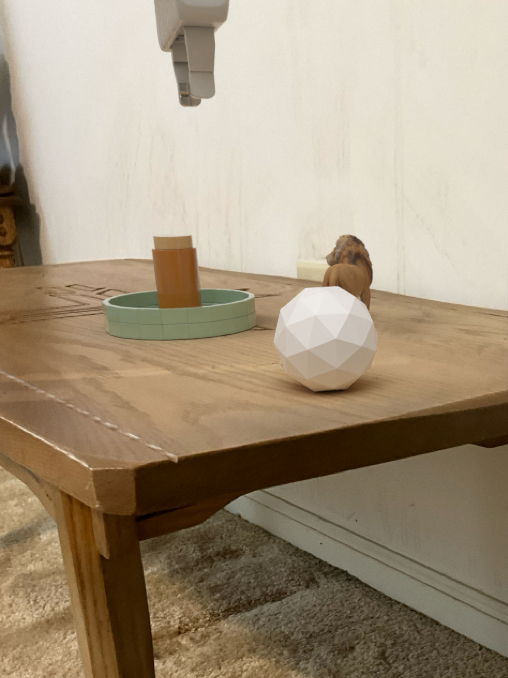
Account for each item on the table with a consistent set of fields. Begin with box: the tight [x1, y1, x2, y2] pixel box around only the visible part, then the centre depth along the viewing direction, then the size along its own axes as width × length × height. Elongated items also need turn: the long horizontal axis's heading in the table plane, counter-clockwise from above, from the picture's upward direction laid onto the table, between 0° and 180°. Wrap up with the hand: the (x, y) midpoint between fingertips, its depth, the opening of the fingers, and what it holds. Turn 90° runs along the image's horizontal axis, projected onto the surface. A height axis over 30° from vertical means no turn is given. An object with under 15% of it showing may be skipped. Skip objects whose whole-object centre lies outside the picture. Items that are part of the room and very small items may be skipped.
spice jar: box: [151, 233, 202, 308], centre depth 87 cm, size 4×4×9 cm
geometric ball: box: [272, 286, 379, 393], centre depth 64 cm, size 8×8×8 cm
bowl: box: [101, 287, 257, 341], centre depth 88 cm, size 15×15×4 cm
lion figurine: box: [321, 233, 374, 312], centre depth 89 cm, size 15×5×9 cm, turn 179°
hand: (196, 102), depth 71 cm, fingers open, 8 cm apart
